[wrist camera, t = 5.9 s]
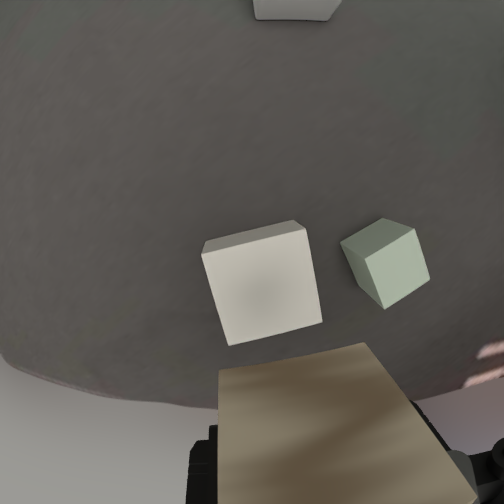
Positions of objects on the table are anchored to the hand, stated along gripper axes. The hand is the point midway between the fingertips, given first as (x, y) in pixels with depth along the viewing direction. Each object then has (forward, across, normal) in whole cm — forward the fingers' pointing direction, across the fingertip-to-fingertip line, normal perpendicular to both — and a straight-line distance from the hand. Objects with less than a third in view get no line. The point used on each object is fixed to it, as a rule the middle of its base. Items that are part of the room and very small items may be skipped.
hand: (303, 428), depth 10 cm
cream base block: (+20, 0, 0) cm, 20 cm away
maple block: (+1, 0, 0) cm, 1 cm away
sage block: (+20, -11, 0) cm, 23 cm away
